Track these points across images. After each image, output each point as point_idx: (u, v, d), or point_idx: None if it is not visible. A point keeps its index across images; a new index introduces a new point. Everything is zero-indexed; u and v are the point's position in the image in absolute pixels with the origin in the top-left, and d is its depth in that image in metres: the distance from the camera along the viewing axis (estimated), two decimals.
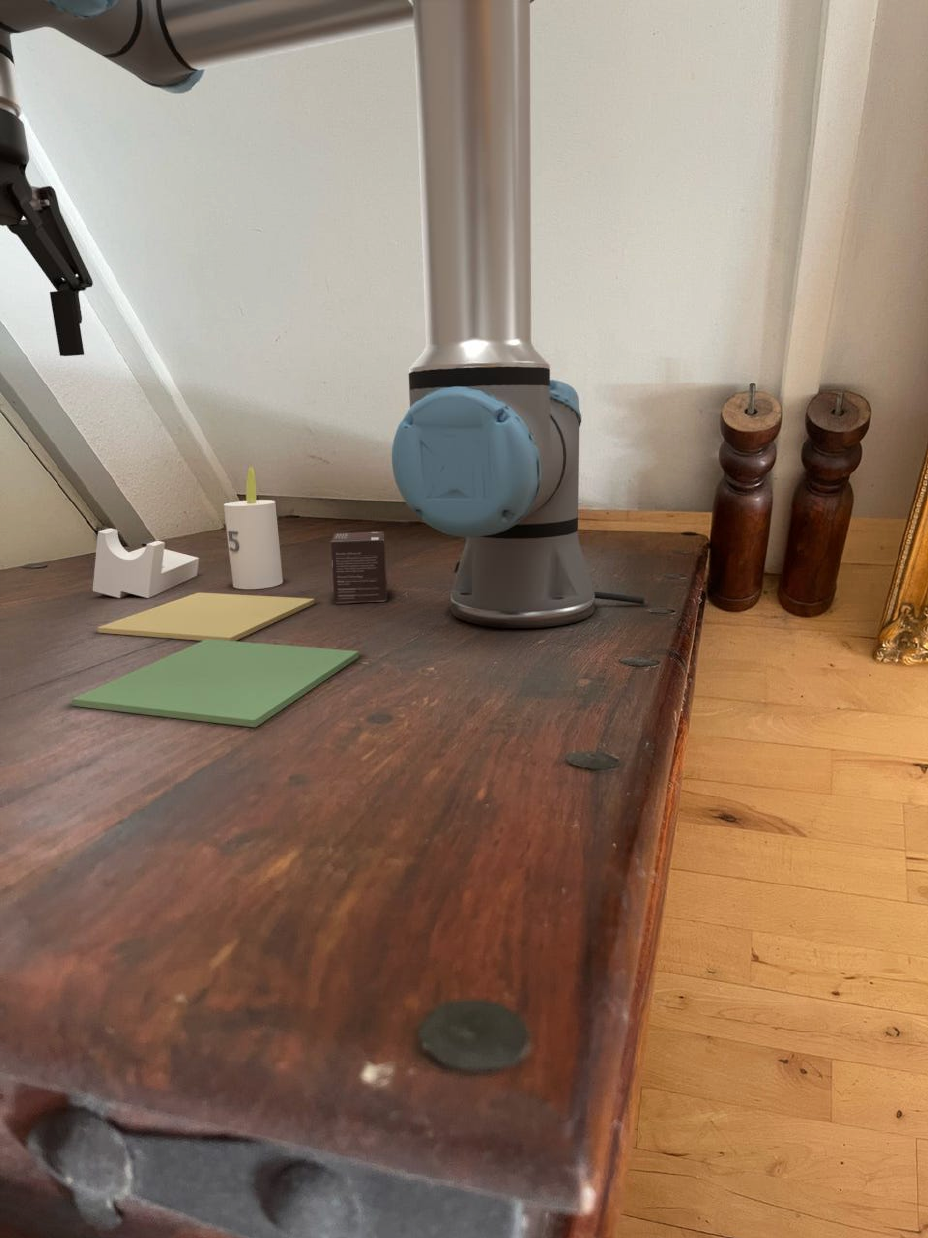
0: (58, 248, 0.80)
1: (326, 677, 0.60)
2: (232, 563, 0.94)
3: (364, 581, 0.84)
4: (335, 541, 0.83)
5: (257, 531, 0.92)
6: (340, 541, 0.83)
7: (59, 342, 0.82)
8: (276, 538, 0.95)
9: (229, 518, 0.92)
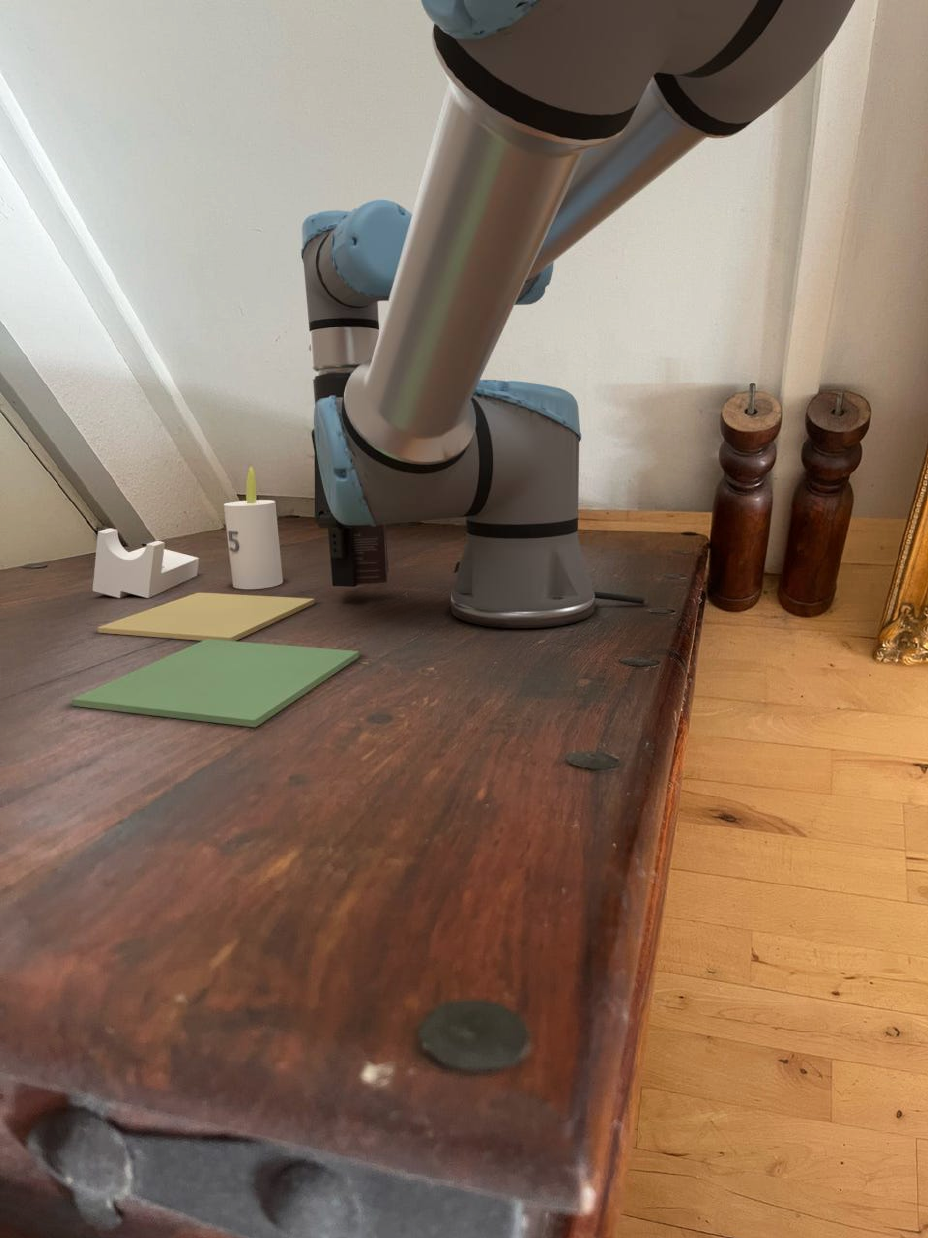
0: None
1: (326, 677, 0.60)
2: (232, 563, 0.94)
3: (364, 563, 0.84)
4: None
5: (257, 531, 0.92)
6: None
7: None
8: (276, 538, 0.95)
9: (229, 518, 0.92)
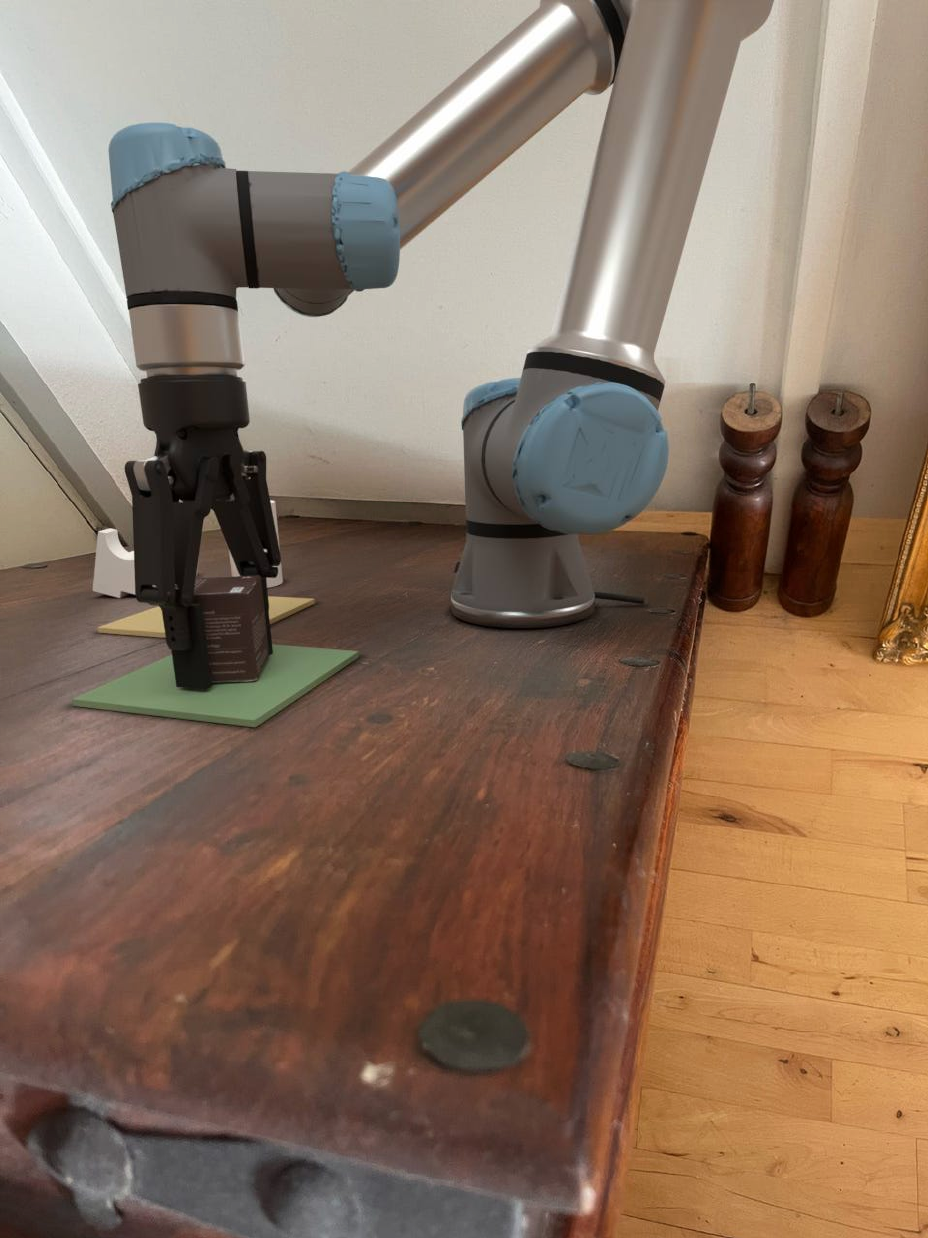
0: None
1: (326, 677, 0.60)
2: (232, 563, 0.94)
3: (223, 652, 0.57)
4: None
5: None
6: None
7: None
8: None
9: None
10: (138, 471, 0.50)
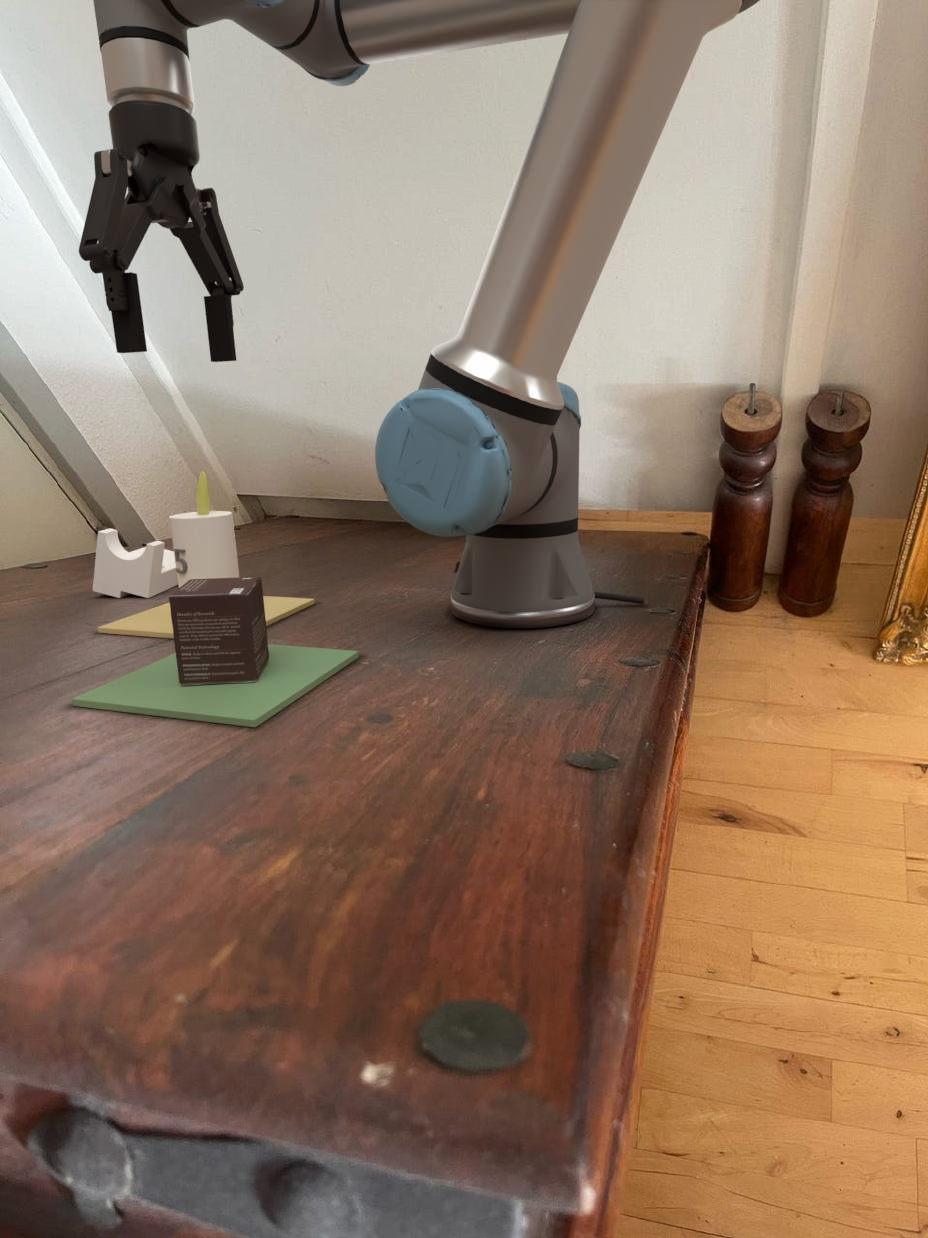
0: None
1: (326, 677, 0.60)
2: None
3: (222, 653, 0.57)
4: (175, 596, 0.56)
5: (209, 549, 0.76)
6: (183, 596, 0.56)
7: (211, 348, 0.80)
8: (233, 557, 0.79)
9: (175, 534, 0.76)
10: (104, 154, 0.63)
